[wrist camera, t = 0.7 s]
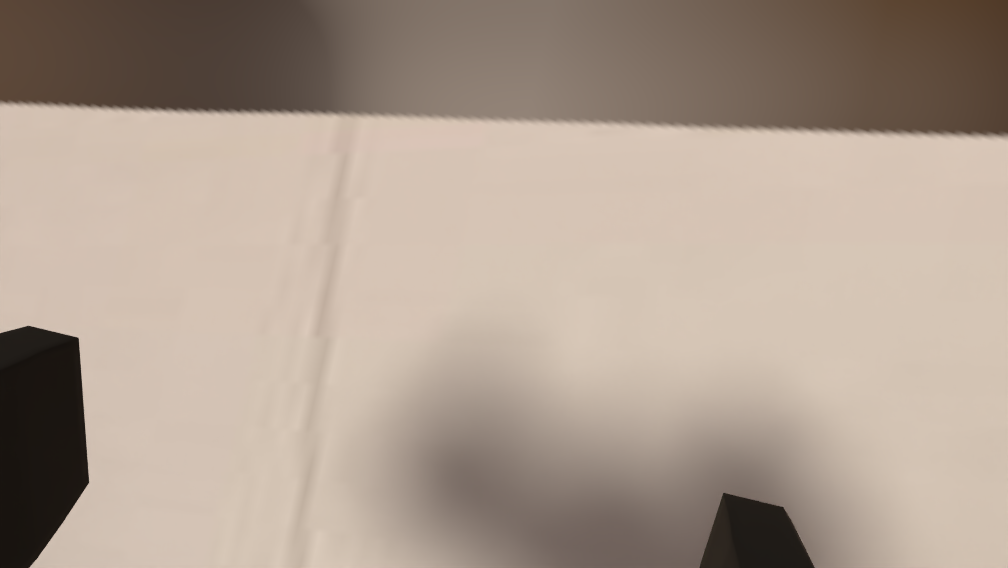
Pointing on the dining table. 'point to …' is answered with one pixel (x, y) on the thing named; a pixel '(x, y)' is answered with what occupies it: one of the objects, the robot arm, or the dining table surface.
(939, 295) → the dining table surface
